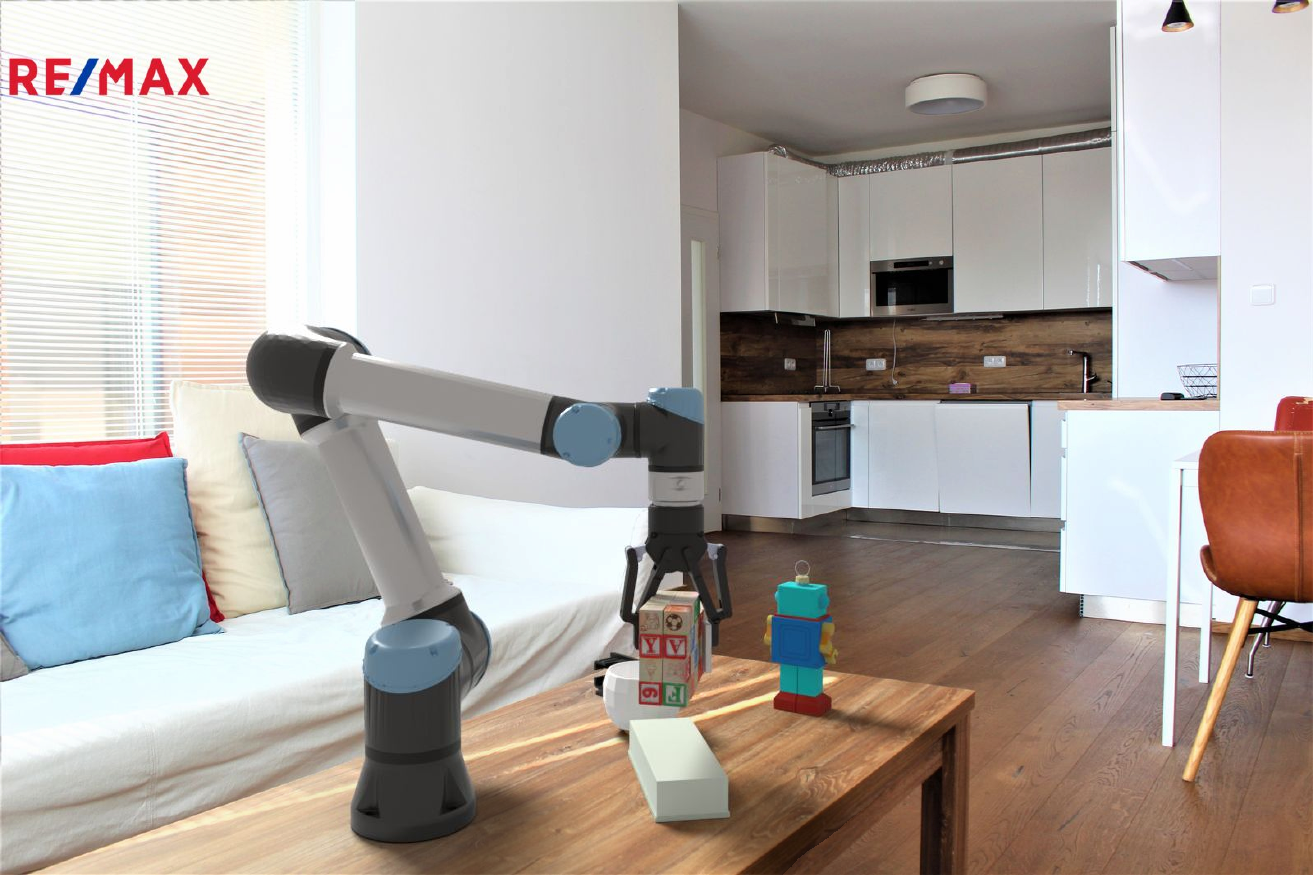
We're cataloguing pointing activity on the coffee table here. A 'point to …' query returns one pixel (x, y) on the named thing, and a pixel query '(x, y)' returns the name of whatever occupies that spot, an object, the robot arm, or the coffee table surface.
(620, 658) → the end cap
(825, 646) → the toy robot
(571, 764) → the coffee table surface
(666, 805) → the plinth
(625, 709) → the cup
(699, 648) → the stack of blocks
